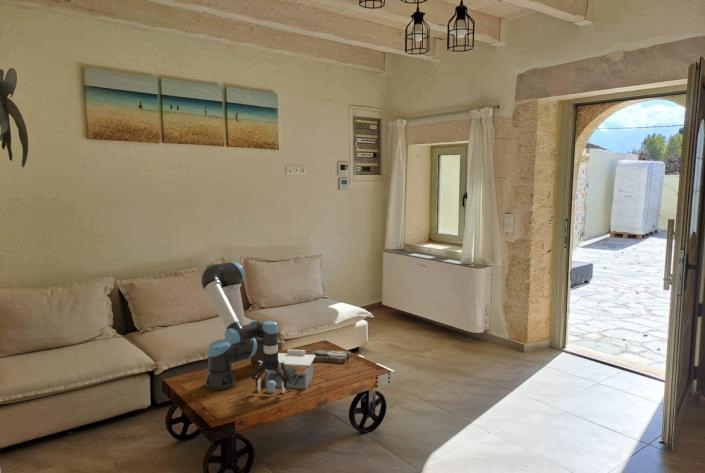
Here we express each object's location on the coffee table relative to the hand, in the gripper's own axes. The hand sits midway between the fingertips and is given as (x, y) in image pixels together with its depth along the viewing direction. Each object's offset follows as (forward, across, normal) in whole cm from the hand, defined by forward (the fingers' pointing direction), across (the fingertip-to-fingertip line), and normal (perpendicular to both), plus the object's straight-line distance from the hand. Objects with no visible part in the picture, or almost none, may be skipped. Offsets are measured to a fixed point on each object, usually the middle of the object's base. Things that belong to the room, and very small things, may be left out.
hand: (271, 392), depth 244 cm
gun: (+1, +20, +52) cm, 56 cm away
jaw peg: (0, 0, 0) cm, 0 cm away
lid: (-10, +6, +21) cm, 24 cm away
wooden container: (0, -16, +36) cm, 39 cm away
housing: (0, +6, +13) cm, 14 cm away
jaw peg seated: (-1, +6, +17) cm, 18 cm away
